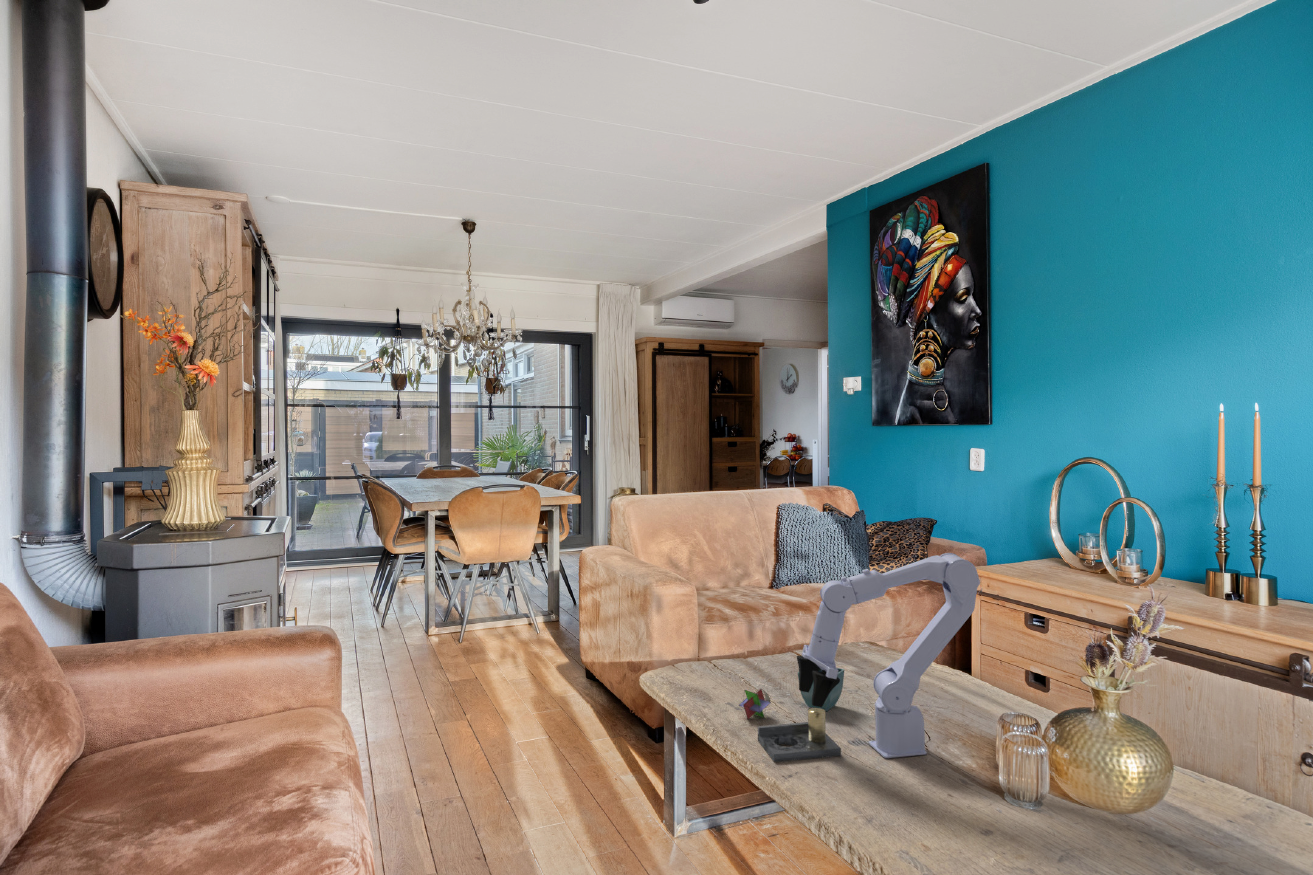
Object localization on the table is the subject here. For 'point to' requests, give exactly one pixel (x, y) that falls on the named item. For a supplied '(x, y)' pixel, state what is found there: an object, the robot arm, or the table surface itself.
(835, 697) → the flower pot
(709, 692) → the table surface
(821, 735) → the brass cylinder plug
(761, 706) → the geometric puzzle
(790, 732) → the jig
